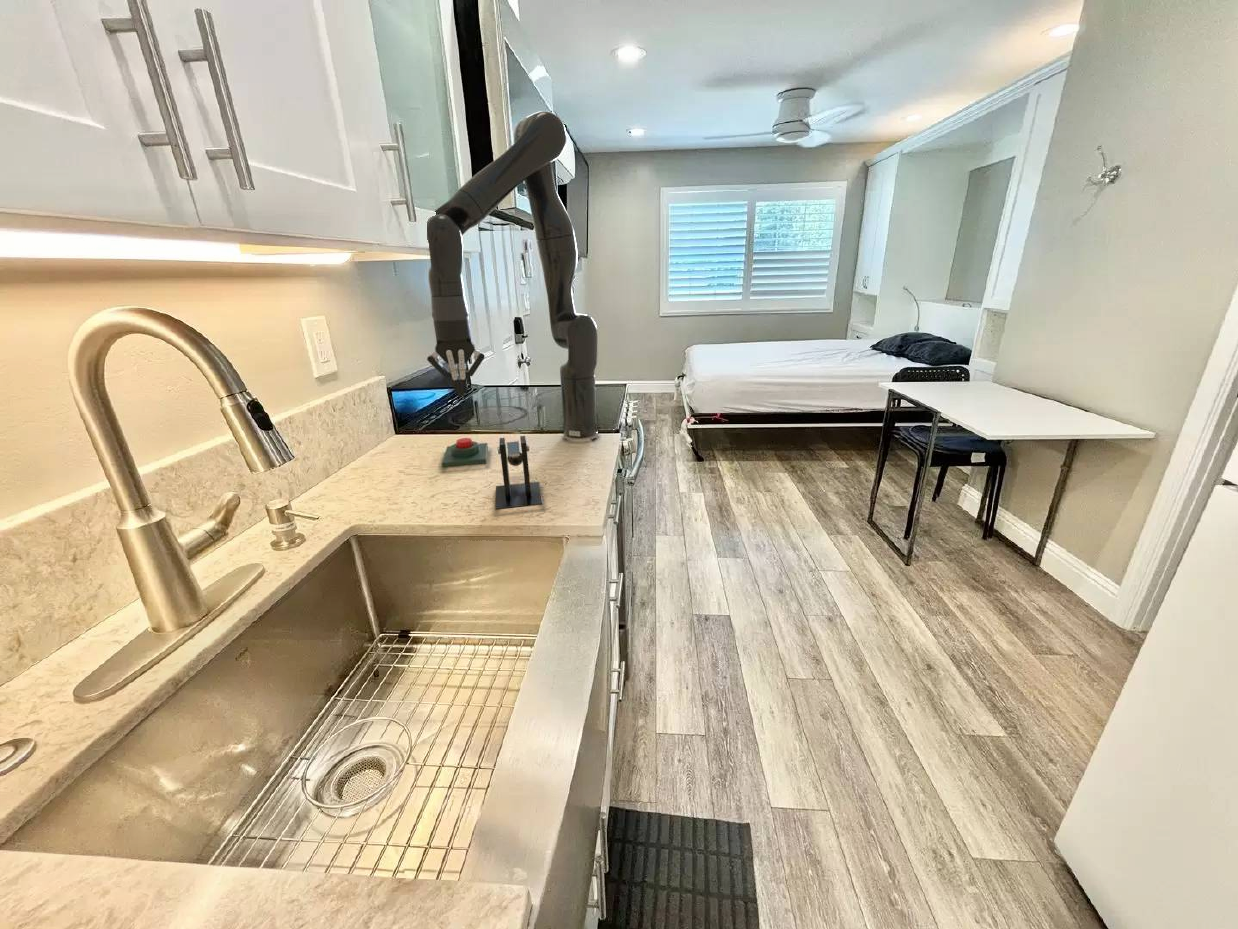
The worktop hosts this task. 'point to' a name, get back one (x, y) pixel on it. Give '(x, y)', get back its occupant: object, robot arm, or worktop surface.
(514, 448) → the lever
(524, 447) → the bracket
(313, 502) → the worktop surface
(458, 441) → the button
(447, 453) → the button box
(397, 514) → the worktop surface
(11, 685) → the worktop surface
